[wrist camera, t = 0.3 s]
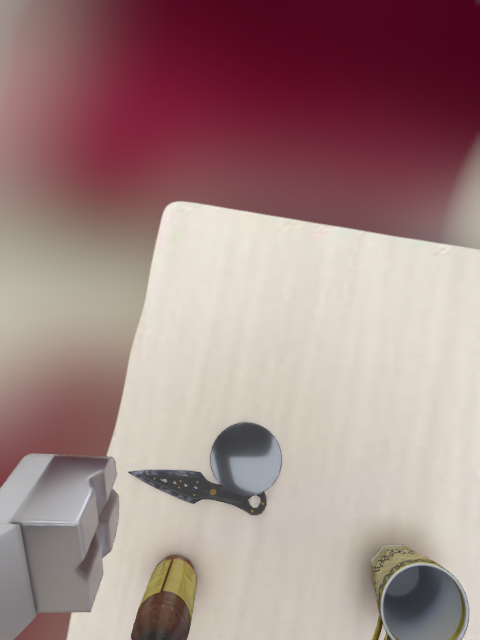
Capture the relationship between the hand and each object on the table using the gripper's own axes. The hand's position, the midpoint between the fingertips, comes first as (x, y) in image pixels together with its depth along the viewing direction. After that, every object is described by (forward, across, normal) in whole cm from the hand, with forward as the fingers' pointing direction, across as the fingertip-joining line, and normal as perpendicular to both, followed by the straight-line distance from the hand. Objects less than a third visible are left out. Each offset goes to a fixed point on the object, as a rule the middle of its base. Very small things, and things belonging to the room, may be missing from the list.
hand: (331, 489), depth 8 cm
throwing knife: (+42, -6, -37) cm, 56 cm away
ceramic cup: (+36, +20, -46) cm, 62 cm away
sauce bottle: (+36, -8, -47) cm, 60 cm away
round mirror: (+43, +1, -33) cm, 54 cm away
